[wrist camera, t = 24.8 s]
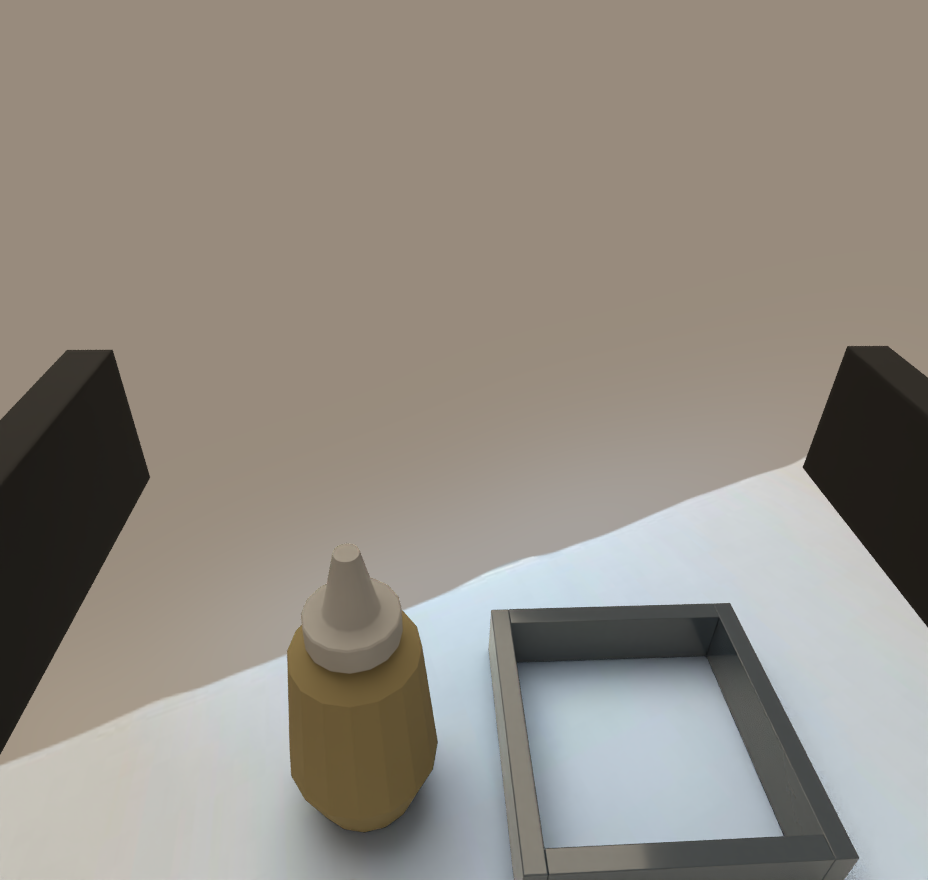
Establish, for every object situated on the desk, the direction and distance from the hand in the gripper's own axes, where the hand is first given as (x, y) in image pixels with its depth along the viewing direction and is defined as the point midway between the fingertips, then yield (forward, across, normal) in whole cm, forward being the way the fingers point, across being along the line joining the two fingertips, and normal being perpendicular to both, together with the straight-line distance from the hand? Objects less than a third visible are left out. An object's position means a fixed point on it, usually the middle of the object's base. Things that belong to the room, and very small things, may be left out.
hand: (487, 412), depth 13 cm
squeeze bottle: (+11, -5, -32) cm, 35 cm away
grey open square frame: (+12, +11, -32) cm, 36 cm away
